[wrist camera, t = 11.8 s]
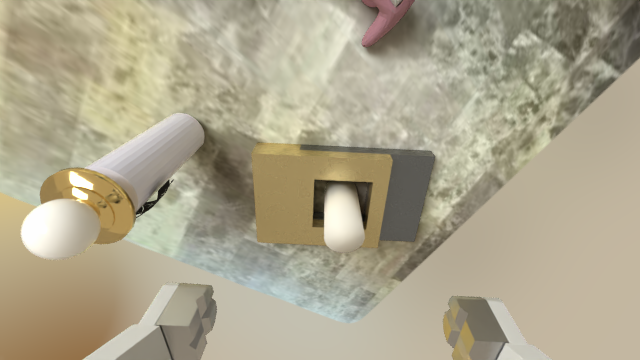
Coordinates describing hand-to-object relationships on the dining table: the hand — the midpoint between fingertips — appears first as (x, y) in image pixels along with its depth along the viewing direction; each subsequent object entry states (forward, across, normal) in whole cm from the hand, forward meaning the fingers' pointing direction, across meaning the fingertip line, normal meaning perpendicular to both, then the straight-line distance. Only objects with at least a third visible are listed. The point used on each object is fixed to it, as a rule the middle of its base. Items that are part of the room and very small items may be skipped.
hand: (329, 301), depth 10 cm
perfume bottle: (+25, +16, +3) cm, 30 cm away
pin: (+25, -2, +10) cm, 27 cm away
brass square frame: (+25, -2, +11) cm, 27 cm away
